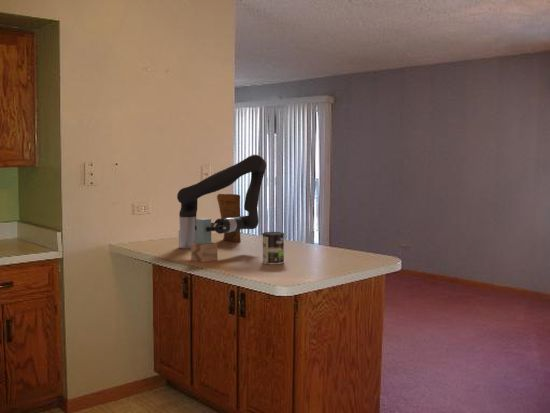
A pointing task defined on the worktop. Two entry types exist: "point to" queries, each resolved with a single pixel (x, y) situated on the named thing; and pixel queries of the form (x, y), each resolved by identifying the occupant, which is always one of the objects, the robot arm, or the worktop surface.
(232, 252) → the worktop surface
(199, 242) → the post
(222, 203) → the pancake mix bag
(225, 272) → the worktop surface
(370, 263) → the worktop surface
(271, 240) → the coffee can
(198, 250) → the block
